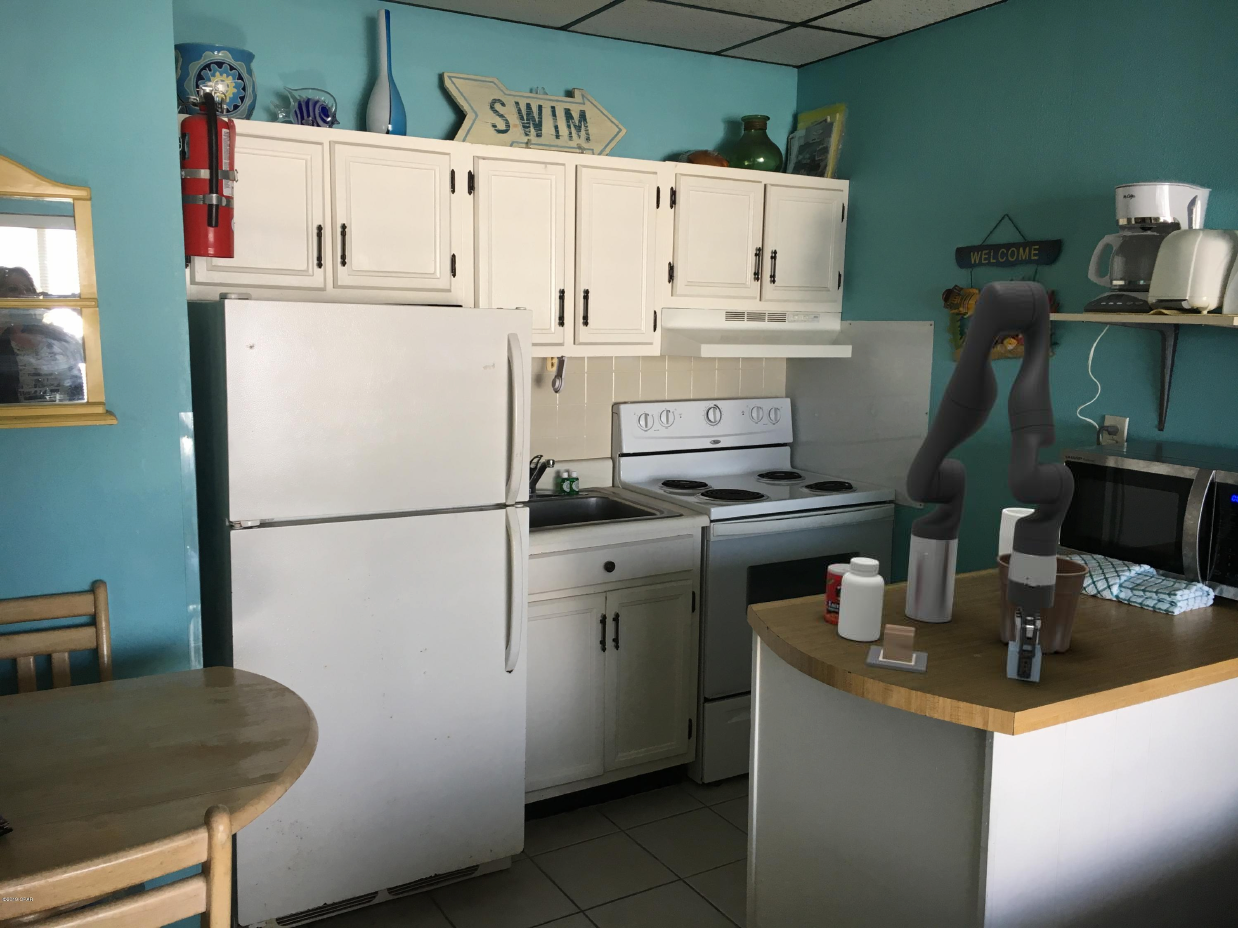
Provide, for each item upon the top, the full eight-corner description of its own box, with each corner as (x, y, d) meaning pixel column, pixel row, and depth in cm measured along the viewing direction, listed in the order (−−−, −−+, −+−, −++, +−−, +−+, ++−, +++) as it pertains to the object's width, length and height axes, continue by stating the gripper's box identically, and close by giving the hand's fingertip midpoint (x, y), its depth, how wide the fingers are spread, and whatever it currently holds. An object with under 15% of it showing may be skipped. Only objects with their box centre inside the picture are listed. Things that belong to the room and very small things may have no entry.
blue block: (1006, 668, 173) (1009, 641, 172) (1037, 672, 171) (1039, 645, 171) (1007, 677, 168) (1010, 649, 168) (1038, 681, 167) (1041, 653, 166)
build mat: (871, 648, 181) (871, 644, 181) (927, 656, 178) (927, 652, 178) (865, 665, 172) (866, 661, 172) (925, 673, 169) (925, 669, 169)
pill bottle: (881, 644, 184) (887, 566, 182) (838, 640, 186) (843, 563, 184) (878, 631, 192) (884, 557, 190) (837, 627, 194) (842, 554, 191)
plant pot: (1087, 662, 178) (1096, 576, 175) (992, 651, 182) (1000, 567, 180) (1073, 637, 193) (1081, 557, 191) (986, 627, 198) (993, 549, 195)
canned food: (821, 623, 196) (824, 569, 195) (828, 613, 204) (831, 561, 202) (859, 628, 194) (863, 574, 192) (865, 618, 201) (869, 566, 199)
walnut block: (884, 650, 178) (886, 624, 178) (912, 654, 177) (915, 627, 176) (882, 658, 174) (884, 631, 173) (911, 662, 172) (913, 635, 171)
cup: (1047, 608, 213) (1056, 511, 210) (1038, 619, 205) (1048, 518, 202) (997, 600, 219) (1005, 505, 216) (987, 610, 210) (995, 512, 207)
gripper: (1007, 566, 176) (998, 657, 178) (1009, 584, 162) (1000, 682, 164) (1052, 570, 173) (1043, 663, 175) (1059, 590, 160) (1049, 689, 162)
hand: (1022, 672), depth 170 cm, fingers closed on blue block, 5 cm apart
